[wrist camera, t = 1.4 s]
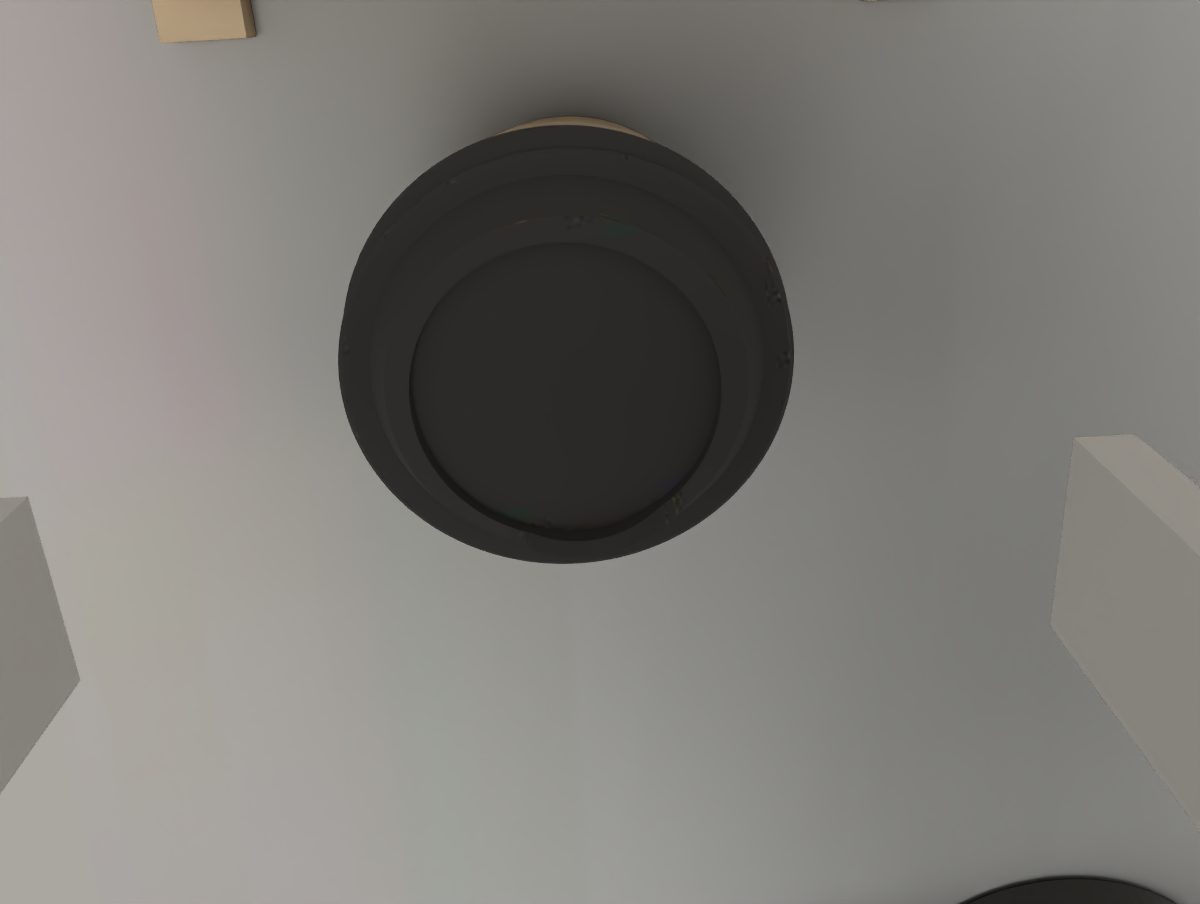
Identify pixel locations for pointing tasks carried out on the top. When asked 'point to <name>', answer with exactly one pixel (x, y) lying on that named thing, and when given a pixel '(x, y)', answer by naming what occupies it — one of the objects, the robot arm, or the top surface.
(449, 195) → the coffee cup
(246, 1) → the wooden screen
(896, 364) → the top surface
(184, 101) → the top surface
